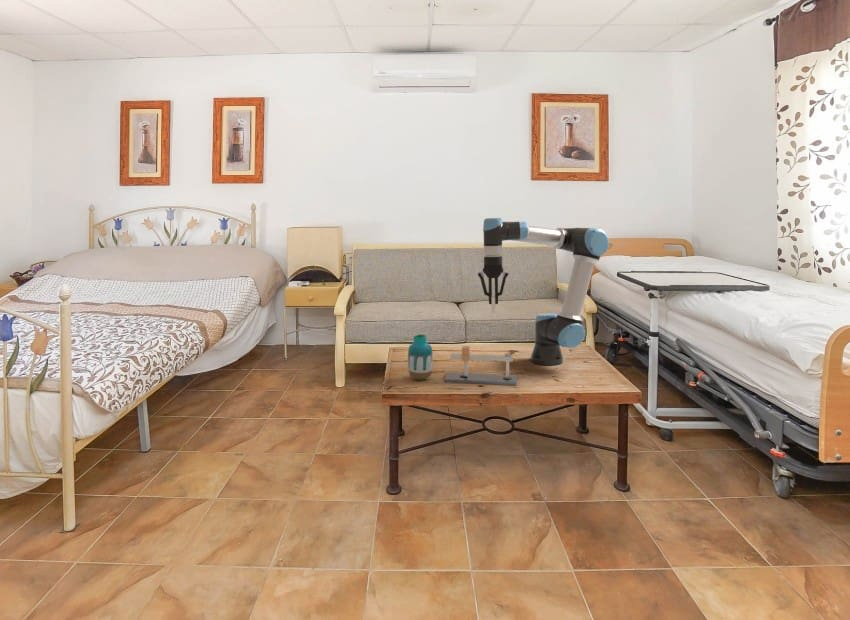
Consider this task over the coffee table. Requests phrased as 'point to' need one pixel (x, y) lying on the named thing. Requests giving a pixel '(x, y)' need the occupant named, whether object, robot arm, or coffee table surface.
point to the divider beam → (488, 359)
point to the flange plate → (481, 378)
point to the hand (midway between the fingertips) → (493, 311)
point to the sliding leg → (465, 358)
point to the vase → (420, 358)
